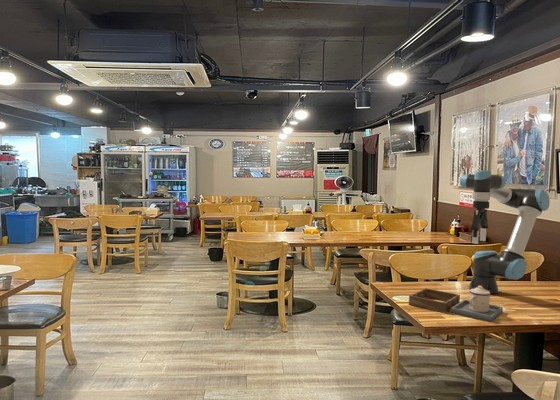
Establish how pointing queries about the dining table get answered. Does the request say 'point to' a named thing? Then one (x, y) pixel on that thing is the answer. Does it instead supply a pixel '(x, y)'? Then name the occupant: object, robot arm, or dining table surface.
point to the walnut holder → (420, 300)
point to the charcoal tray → (464, 310)
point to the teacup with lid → (479, 299)
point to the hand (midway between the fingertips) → (478, 242)
